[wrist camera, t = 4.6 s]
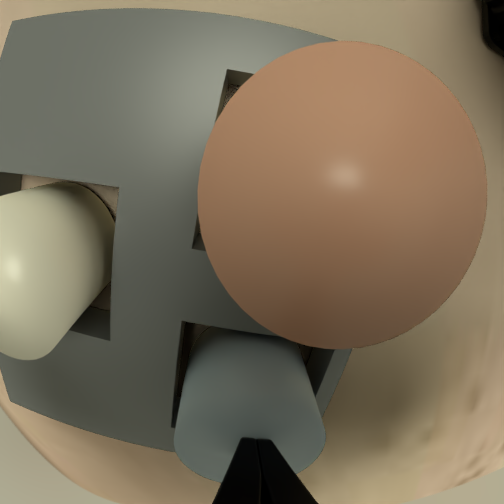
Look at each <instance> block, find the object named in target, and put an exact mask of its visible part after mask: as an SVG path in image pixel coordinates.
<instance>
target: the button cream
mask: <svg viewBox="0 0 504 504" xmlns="http://www.w3.org/2000/svg"><path fill="white" fill-rule="evenodd" d="M114 233H115V223H114V220H113V218H112V216H111V214H110V212H109V211H108V209H107V207H106V206H105V205H104V203H103V202H102V201H101V200H100V199H99V198H98V197H97V196H96V195H95V194H94V193H93V192H91V191H90V190H89V189H87V188H85V187H83V186H81V185H79V184H76V183H72V182H55V183H51V184H46V185H42V186H38V187H34V188H30V189H26V190H22V191H18V192H14V193H10V194H6V195H3V196H0V352H1V353H3V354H5V355H7V356H10V357H13V358H16V359H21V360H35V359H39V358H42V357H44V356H45V355H47V354H48V353H50V352H51V351H52V350H53V349H54V347H55V346H56V345H57V344H58V342H59V341H60V340H61V339H62V337H63V336H64V335H65V334H66V333H67V331H68V330H69V329H70V328H71V326H72V325H73V324H74V323H75V322H76V320H77V319H78V318H79V317H80V316H81V314H82V313H83V312H84V311H85V310H86V309H87V307H88V306H89V305H90V304H91V303H92V302H93V300H94V299H95V298H96V297H97V296H98V295H99V294H100V292H101V291H102V290H103V289H104V288H105V287H106V285H107V284H108V283H109V282H110V280H111V278H112V259H113V245H114Z"/></svg>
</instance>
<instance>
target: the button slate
mask: <svg viewBox="0 0 504 504" xmlns="http://www.w3.org/2000/svg"><path fill="white" fill-rule="evenodd" d="M242 437H248V438H255V439H258V438H260V439H270V440H272V441H273V443H274V444H275V445H276V447H277V448H278V450H279V451H280V453H281V454H282V455H283V457H284V458H285V460H286V461H287V462H288V464H289V465H290V467H291V468H292V469H293V471H294V472H295V474H297V473H299V472H301V471H302V470H304V469H305V468H307V467H308V466H309V465H311V464H312V463H313V462H314V461H315V460H316V459H317V458H318V456H319V455H320V453H321V452H322V450H323V448H324V445H325V441H326V433H325V428H324V425H323V422H322V419H321V415H320V412H319V409H318V406H317V402H316V399H315V396H314V393H313V390H312V386H311V383H310V380H309V377H308V374H307V371H306V367H305V364H304V361H303V358H302V355H301V352H300V349H299V346H298V344H297V343H296V342H293V341H290V340H288V339H286V338H284V337H281V336H273V335H266V334H259V333H252V332H246V331H239V330H233V329H227V328H221V327H215V326H212V327H210V328H209V329H207V330H206V331H204V332H203V333H202V334H201V335H200V336H199V337H198V339H197V340H196V341H195V343H194V344H193V346H192V348H191V351H190V354H189V359H188V364H187V369H186V374H185V379H184V385H183V390H182V395H181V401H180V406H179V411H178V417H177V423H176V428H175V434H174V448H175V451H176V453H177V455H178V457H179V458H180V460H181V461H182V462H183V463H184V464H185V465H186V466H187V467H188V468H189V469H191V470H192V471H194V472H195V473H197V474H199V475H201V476H203V477H205V478H208V479H210V480H213V481H217V482H220V483H222V481H223V478H224V476H225V474H226V471H227V469H228V467H229V465H230V462H231V460H232V457H233V455H234V453H235V450H236V448H237V446H238V443H239V441H240V439H241V438H242Z"/></svg>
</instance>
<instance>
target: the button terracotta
mask: <svg viewBox="0 0 504 504" xmlns="http://www.w3.org/2000/svg"><path fill="white" fill-rule="evenodd" d="M197 192H198V217H199V223H200V229H201V235H202V239H203V242H204V245H205V248H206V252H207V255H208V258H209V260H210V262H211V264H212V266H213V268H214V270H215V273H216V275H217V277H218V278H219V280H220V281H221V283H222V284H223V286H224V287H225V289H226V291H227V292H228V294H229V295H230V296H231V297H232V298H233V299H234V301H235V302H236V303H237V304H238V305H239V306H240V307H241V309H242V310H243V311H245V312H246V313H247V314H248V315H249V316H250V317H252V318H253V319H254V320H255V321H256V322H257V323H259V324H261V325H262V326H264V327H265V328H267V329H268V330H270V331H271V332H273V333H275V334H277V335H279V336H281V337H284V338H286V339H288V340H290V341H293V342H297V343H300V344H303V345H306V346H311V347H317V348H324V349H352V348H361V347H366V346H370V345H375V344H378V343H381V342H384V341H387V340H390V339H392V338H395V337H397V336H399V335H401V334H403V333H405V332H407V331H409V330H410V329H412V328H413V327H415V326H417V325H418V324H420V323H421V322H423V321H424V320H425V319H426V318H428V317H429V316H430V315H431V314H432V313H434V312H435V311H436V310H437V309H438V308H439V307H440V306H441V305H442V304H443V303H444V302H445V301H446V300H447V299H448V298H449V296H450V295H451V294H452V292H453V291H454V290H455V289H456V287H457V286H458V285H459V283H460V282H461V280H462V278H463V277H464V275H465V273H466V272H467V270H468V268H469V266H470V264H471V262H472V260H473V258H474V256H475V253H476V250H477V248H478V245H479V242H480V239H481V235H482V231H483V227H484V222H485V216H486V207H487V178H486V169H485V163H484V158H483V154H482V150H481V147H480V144H479V141H478V138H477V135H476V132H475V130H474V128H473V126H472V124H471V122H470V120H469V117H468V115H467V114H466V112H465V111H464V109H463V108H462V106H461V104H460V103H459V101H458V100H457V99H456V97H455V96H454V95H453V94H452V93H451V91H450V90H449V89H448V88H447V87H446V85H445V84H444V83H442V82H441V81H440V80H439V79H438V78H437V77H436V76H435V75H434V74H433V73H432V72H430V71H429V70H428V69H426V68H425V67H423V66H422V65H420V64H419V63H418V62H416V61H414V60H412V59H411V58H409V57H407V56H405V55H403V54H401V53H399V52H396V51H394V50H391V49H388V48H385V47H382V46H379V45H374V44H369V43H364V42H353V41H334V42H325V43H318V44H314V45H310V46H306V47H303V48H299V49H296V50H294V51H292V52H290V53H287V54H285V55H283V56H281V57H278V58H277V59H275V60H274V61H272V62H270V63H269V64H267V65H266V66H264V67H263V68H261V69H260V70H259V71H257V72H256V73H255V74H254V75H253V76H252V77H251V78H249V79H248V80H247V81H246V82H245V83H244V84H243V85H242V86H241V87H240V88H239V89H238V91H237V92H236V93H235V94H234V95H233V97H232V98H231V99H230V100H229V101H228V103H227V104H226V106H225V108H224V109H223V111H222V112H221V114H220V116H219V117H218V119H217V121H216V122H215V125H214V127H213V129H212V132H211V134H210V136H209V139H208V141H207V144H206V147H205V151H204V154H203V158H202V162H201V166H200V173H199V181H198V190H197Z"/></svg>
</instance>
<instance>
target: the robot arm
mask: <svg viewBox="0 0 504 504" xmlns="http://www.w3.org/2000/svg"><path fill="white" fill-rule="evenodd" d="M482 15H483V36H484V39H485V41H486V43H487V44H488V45H489V46H490V47H491V48H492V49H493V50H495V51H496V52H497V53H499V54H500V55H502V56H503V57H504V0H482ZM212 504H318V503H317V502H316V500H315V499H314V498H313V496H312V495H311V494H310V492H309V491H308V490H307V488H306V487H305V486H304V484H303V483H302V482H301V480H300V479H299V478H298V476H297V475H296V474H295V472H294V471H293V469H292V468H291V467H290V465H289V464H288V462H287V461H286V460H285V458H284V457H283V455H282V454H281V453H280V451H279V450H278V448H277V447H276V445H275V444H274V443H273V441H272V440H270V439H260V438H258V439H255V438H248V437H242V438H241V439H240V441H239V443H238V446H237V448H236V450H235V453H234V455H233V457H232V460H231V462H230V465H229V467H228V469H227V471H226V474H225V476H224V478H223V481H222V483H221V485H220V487H219V490H218V492H217V494H216V496H215V499H214V501H213V503H212Z"/></svg>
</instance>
